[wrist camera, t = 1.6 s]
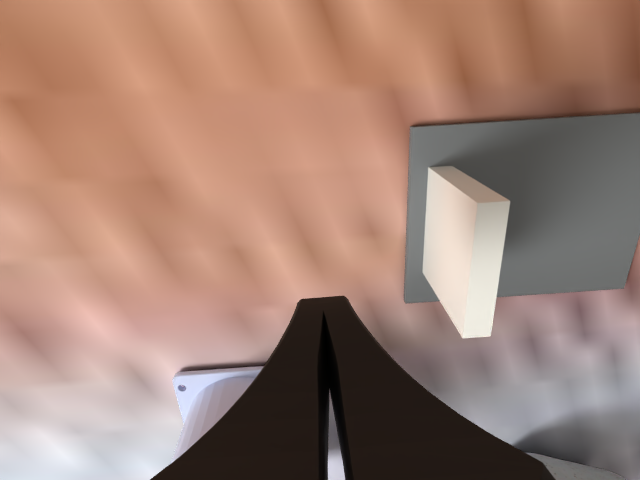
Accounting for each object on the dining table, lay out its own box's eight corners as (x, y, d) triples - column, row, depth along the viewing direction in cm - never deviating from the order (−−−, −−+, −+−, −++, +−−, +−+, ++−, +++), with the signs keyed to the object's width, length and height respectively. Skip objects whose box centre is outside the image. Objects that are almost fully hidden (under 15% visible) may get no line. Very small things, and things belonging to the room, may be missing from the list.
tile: (446, 270, 22) (494, 336, 16) (422, 272, 22) (462, 338, 16) (454, 165, 20) (514, 200, 14) (428, 167, 19) (477, 203, 14)
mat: (618, 285, 23) (623, 288, 23) (403, 299, 23) (405, 303, 23) (668, 110, 19) (675, 111, 19) (410, 126, 19) (412, 127, 19)
